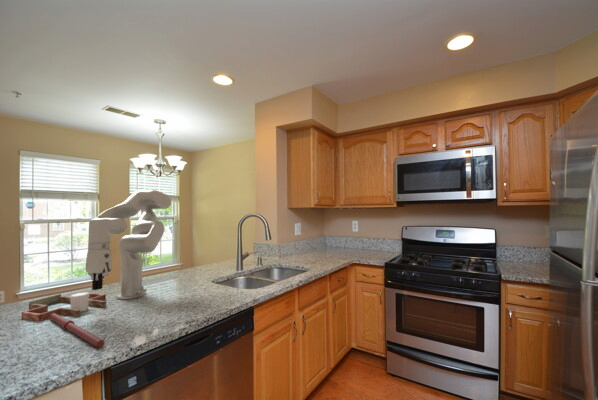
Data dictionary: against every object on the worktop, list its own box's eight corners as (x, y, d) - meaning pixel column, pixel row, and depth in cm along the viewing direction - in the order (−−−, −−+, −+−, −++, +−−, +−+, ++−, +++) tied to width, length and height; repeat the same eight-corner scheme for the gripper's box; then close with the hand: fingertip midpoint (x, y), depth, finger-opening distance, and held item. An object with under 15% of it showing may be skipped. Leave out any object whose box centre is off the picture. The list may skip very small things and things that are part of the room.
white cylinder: (93, 307, 122) (93, 291, 122) (79, 312, 115) (79, 296, 115) (79, 306, 122) (80, 291, 123) (65, 312, 115) (65, 296, 116)
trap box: (121, 301, 129) (121, 294, 129) (56, 324, 103) (56, 315, 103) (76, 296, 138) (76, 289, 138) (6, 315, 113) (6, 307, 113)
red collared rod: (47, 321, 107) (47, 313, 107) (57, 318, 110) (57, 310, 110) (94, 351, 83) (94, 341, 83) (106, 346, 86) (106, 336, 86)
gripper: (119, 246, 117) (118, 288, 116) (95, 245, 122) (93, 286, 120) (102, 247, 110) (101, 292, 109) (77, 247, 115) (75, 290, 113)
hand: (97, 289), depth 115 cm, fingers closed
